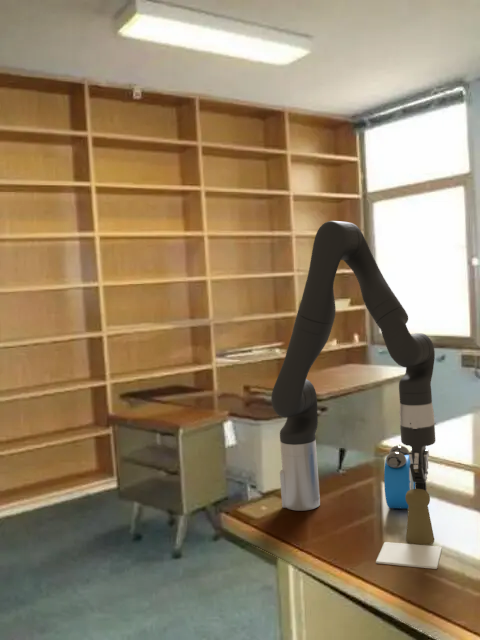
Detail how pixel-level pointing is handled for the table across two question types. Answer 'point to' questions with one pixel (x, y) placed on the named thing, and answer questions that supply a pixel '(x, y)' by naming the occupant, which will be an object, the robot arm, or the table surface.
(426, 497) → the cork
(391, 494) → the alarm clock
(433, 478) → the table surface
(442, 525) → the table surface
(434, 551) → the mat
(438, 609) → the table surface
